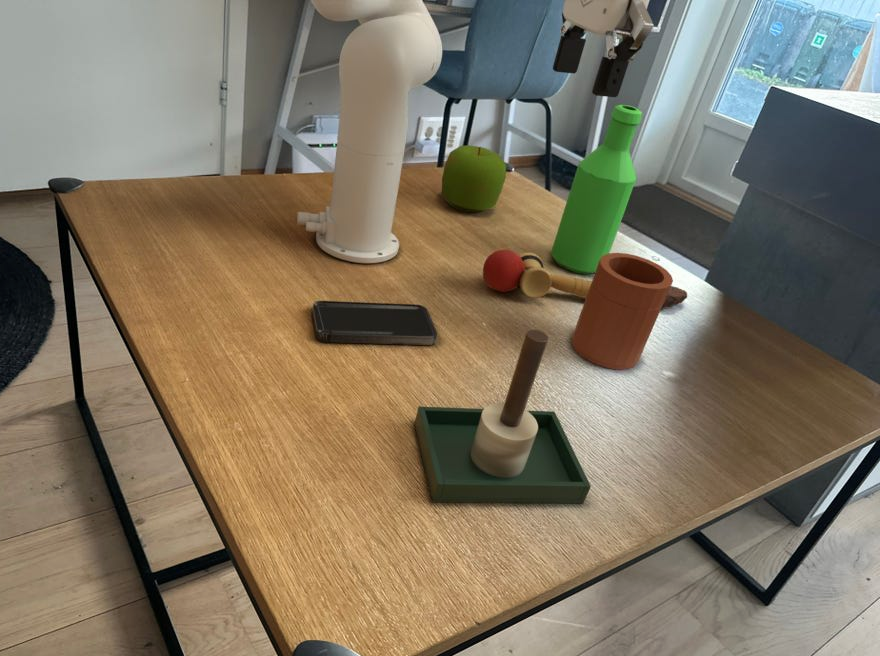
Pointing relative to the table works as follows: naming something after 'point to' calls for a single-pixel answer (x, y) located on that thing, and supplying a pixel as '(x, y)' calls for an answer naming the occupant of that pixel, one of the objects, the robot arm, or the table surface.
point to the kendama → (527, 275)
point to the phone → (373, 323)
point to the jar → (620, 310)
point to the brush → (511, 417)
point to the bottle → (598, 197)
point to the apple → (473, 178)
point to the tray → (460, 480)
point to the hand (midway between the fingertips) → (583, 83)
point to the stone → (674, 297)
